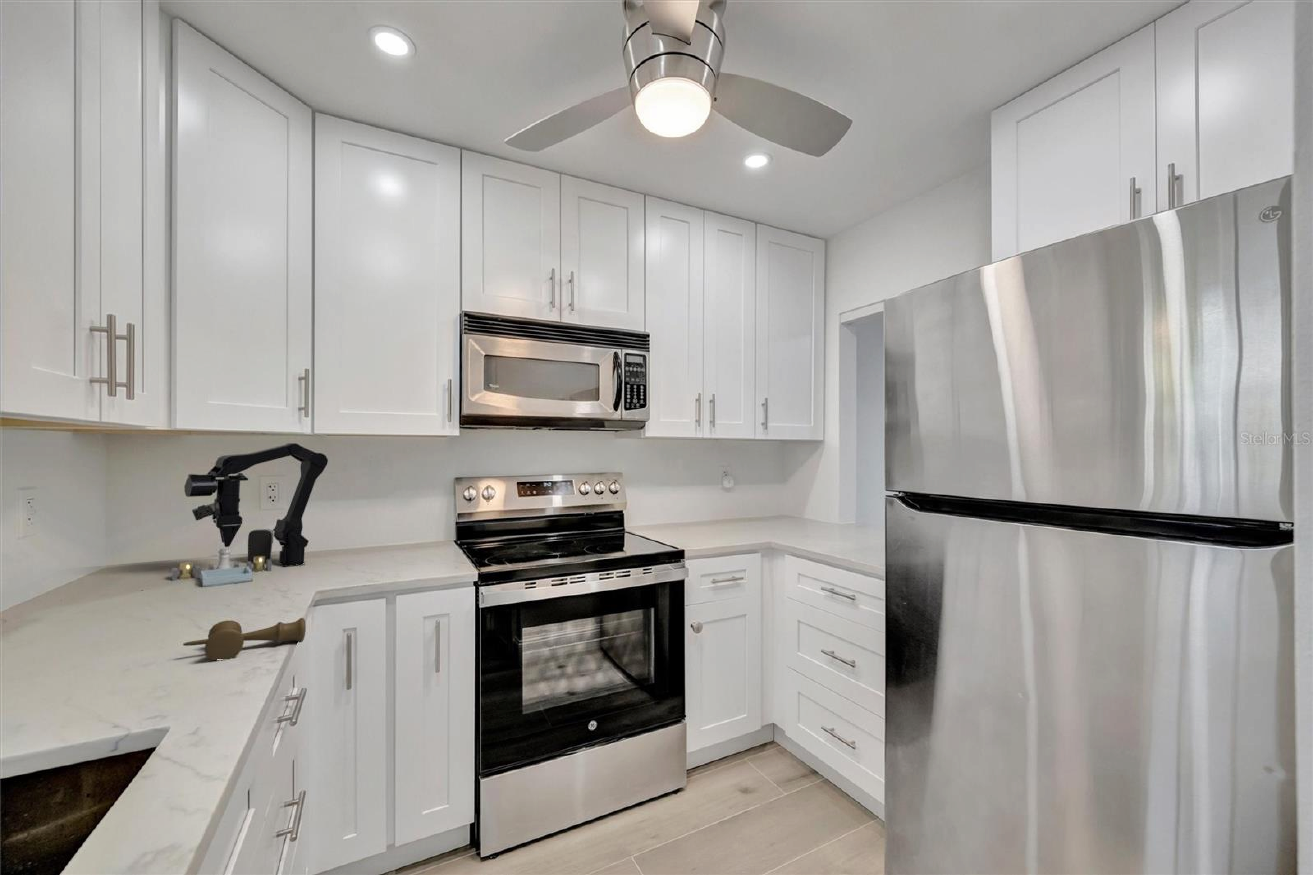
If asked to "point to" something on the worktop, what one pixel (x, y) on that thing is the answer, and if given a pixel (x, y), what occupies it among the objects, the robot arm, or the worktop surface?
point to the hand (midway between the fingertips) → (225, 544)
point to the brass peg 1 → (186, 570)
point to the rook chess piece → (224, 559)
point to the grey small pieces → (211, 567)
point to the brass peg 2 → (259, 563)
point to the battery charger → (260, 544)
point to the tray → (226, 576)
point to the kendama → (246, 637)
